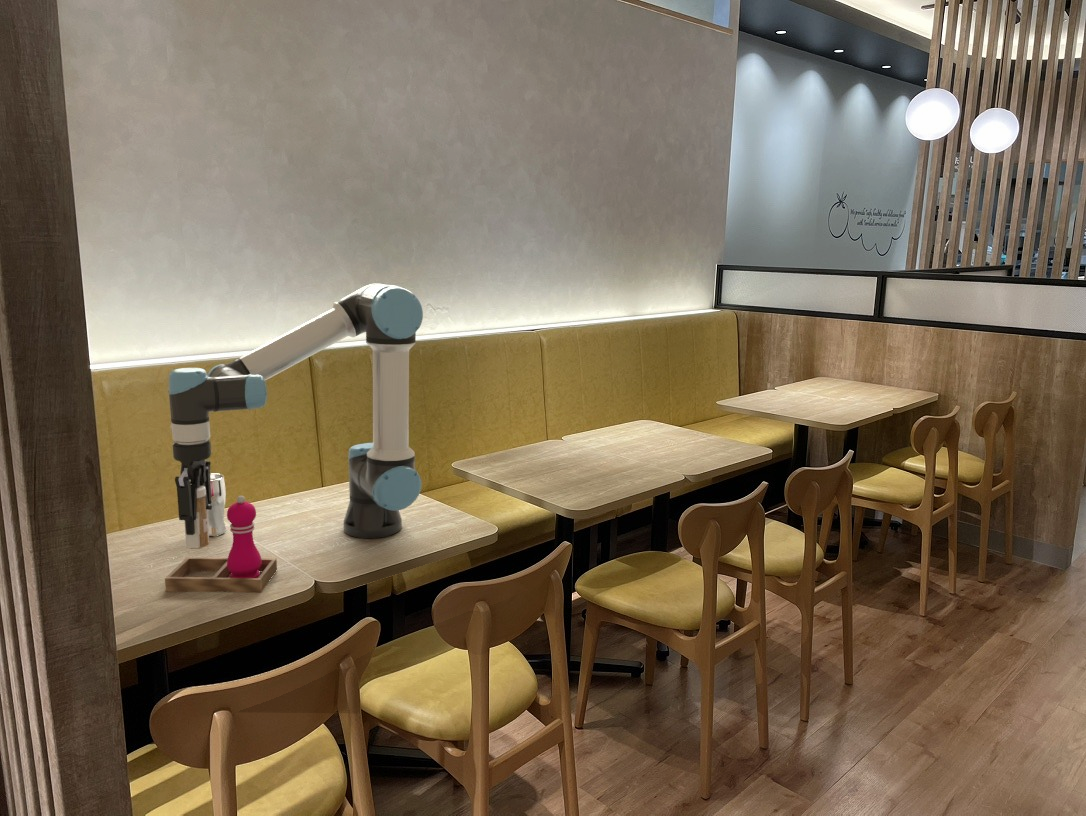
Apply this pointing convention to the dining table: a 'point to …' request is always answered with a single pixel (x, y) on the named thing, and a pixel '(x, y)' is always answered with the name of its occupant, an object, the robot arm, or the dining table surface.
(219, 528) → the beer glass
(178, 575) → the caddy
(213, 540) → the dining table surface
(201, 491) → the sprinkles bottle
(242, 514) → the pepper mill
